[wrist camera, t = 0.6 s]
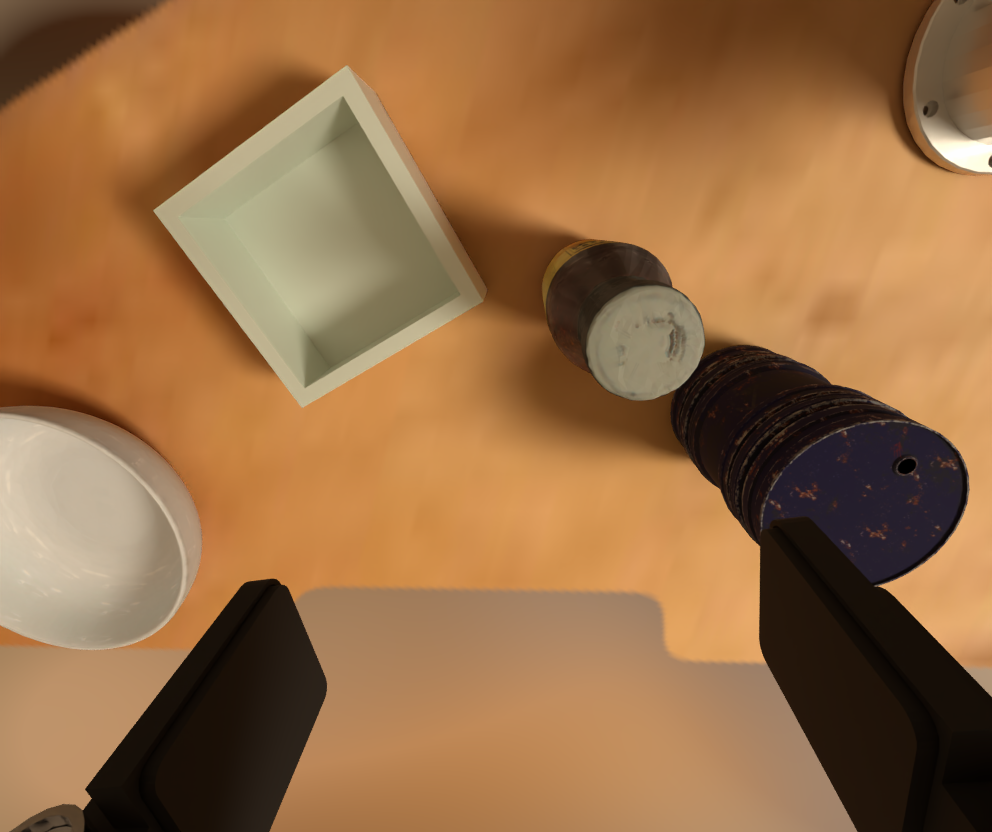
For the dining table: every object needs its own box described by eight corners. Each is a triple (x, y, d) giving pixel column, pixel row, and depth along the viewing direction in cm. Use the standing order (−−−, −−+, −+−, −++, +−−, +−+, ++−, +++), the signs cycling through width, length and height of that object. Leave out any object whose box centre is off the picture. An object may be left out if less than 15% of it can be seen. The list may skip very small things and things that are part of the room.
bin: (375, 92, 31) (347, 64, 26) (487, 289, 35) (483, 301, 30) (209, 212, 34) (153, 210, 29) (331, 382, 38) (302, 408, 33)
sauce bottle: (645, 264, 34) (800, 310, 16) (599, 343, 37) (689, 465, 18) (562, 219, 34) (625, 213, 15) (520, 303, 36) (530, 388, 17)
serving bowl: (-53, 381, 39) (-163, 412, 33) (205, 382, 39) (144, 413, 32) (37, 592, 47) (-39, 650, 40) (254, 595, 46) (212, 655, 40)
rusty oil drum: (742, 484, 40) (864, 621, 26) (643, 429, 39) (716, 542, 25) (829, 383, 37) (1019, 478, 23) (724, 318, 36) (860, 378, 22)
